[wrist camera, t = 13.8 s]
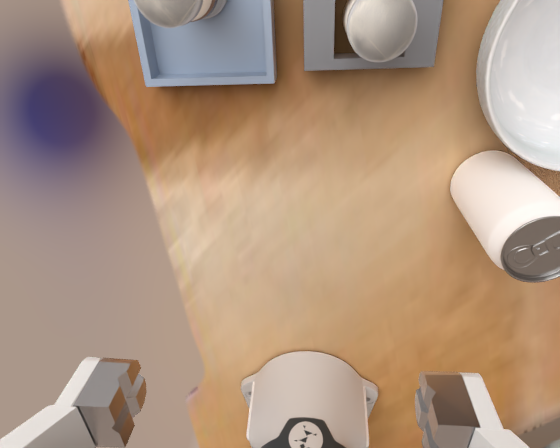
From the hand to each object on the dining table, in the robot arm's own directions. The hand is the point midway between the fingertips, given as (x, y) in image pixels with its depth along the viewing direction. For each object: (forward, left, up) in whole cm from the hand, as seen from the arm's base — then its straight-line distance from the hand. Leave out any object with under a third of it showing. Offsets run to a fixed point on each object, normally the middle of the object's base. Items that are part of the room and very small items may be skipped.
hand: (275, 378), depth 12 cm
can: (-7, -17, -29) cm, 35 cm away
